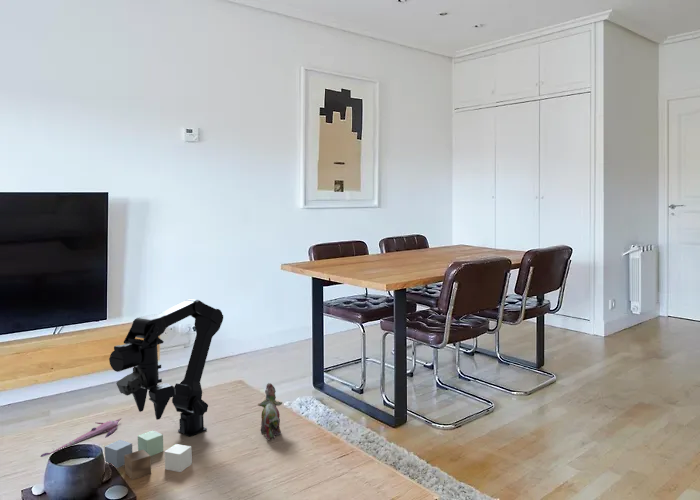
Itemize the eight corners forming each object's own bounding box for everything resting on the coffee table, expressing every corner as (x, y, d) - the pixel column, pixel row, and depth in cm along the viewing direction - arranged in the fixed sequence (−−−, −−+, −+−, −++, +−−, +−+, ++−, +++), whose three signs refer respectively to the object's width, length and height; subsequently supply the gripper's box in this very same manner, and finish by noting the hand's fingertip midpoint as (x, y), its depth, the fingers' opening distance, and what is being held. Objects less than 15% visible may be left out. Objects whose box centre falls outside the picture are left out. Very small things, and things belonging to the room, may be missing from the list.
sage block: (154, 446, 164) (153, 430, 163) (163, 451, 161) (162, 434, 160) (138, 452, 160) (137, 435, 159) (147, 457, 157) (146, 440, 156)
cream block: (176, 461, 154) (176, 443, 154) (191, 464, 153) (191, 446, 152) (164, 469, 150) (164, 451, 149) (180, 472, 148) (179, 454, 148)
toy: (112, 410, 184) (133, 420, 179) (112, 417, 184) (133, 426, 180) (30, 448, 159) (53, 460, 155) (30, 455, 159) (53, 467, 155)
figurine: (285, 426, 178) (284, 380, 176) (277, 442, 166) (276, 393, 165) (261, 425, 179) (261, 379, 177) (251, 441, 167) (250, 392, 165)
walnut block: (143, 467, 151) (142, 449, 151) (151, 473, 147) (150, 455, 147) (125, 473, 148) (124, 455, 147) (132, 480, 144) (131, 461, 144)
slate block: (120, 456, 157) (120, 439, 157) (132, 460, 155) (132, 443, 154) (105, 463, 153) (104, 446, 153) (117, 468, 151) (116, 450, 150)
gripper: (103, 362, 158) (106, 415, 159) (138, 375, 146) (140, 433, 147) (140, 353, 166) (142, 404, 168) (175, 365, 154) (177, 420, 156)
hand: (149, 415), depth 159 cm, fingers open, 9 cm apart
